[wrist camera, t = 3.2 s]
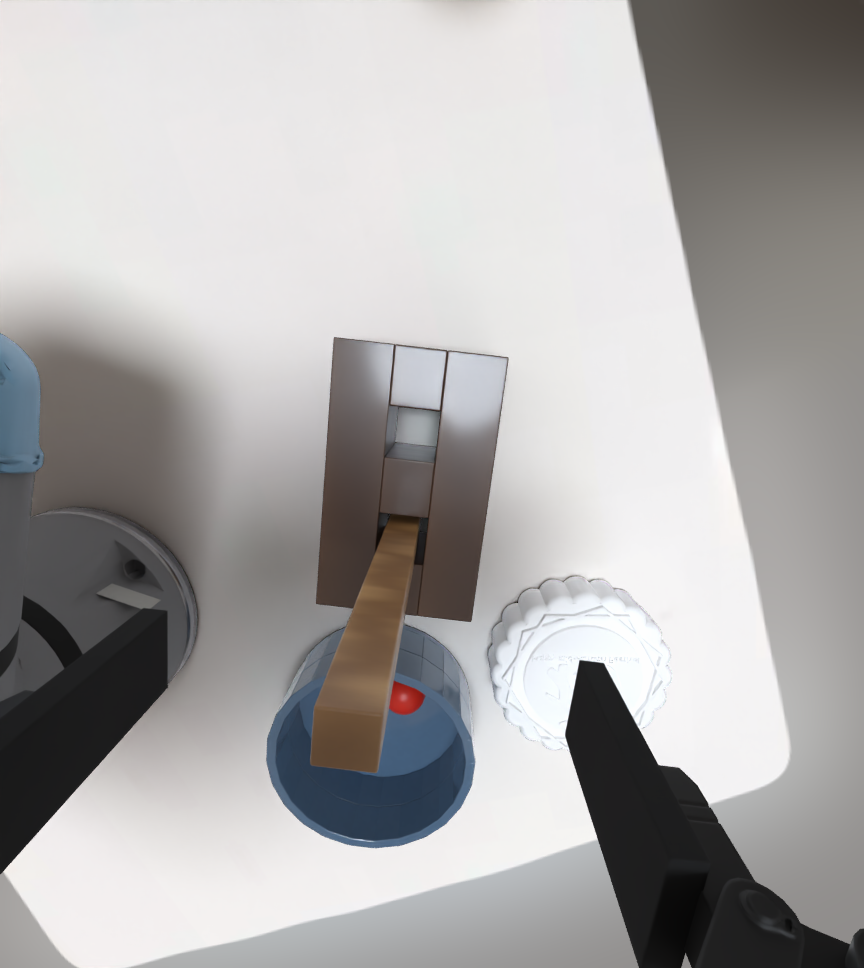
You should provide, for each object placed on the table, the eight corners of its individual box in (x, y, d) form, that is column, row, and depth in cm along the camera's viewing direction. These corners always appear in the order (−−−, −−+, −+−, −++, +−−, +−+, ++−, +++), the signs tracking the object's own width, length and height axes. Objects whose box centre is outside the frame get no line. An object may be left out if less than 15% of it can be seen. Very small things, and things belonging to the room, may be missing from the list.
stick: (394, 522, 35) (309, 767, 13) (397, 496, 34) (313, 706, 13) (420, 524, 35) (377, 774, 13) (423, 499, 34) (383, 715, 13)
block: (337, 566, 35) (315, 604, 30) (354, 343, 32) (333, 337, 26) (467, 581, 35) (471, 622, 29) (497, 360, 32) (508, 357, 26)
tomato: (383, 694, 37) (378, 721, 34) (387, 657, 36) (382, 682, 33) (424, 699, 37) (422, 727, 34) (428, 662, 36) (427, 688, 33)
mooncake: (486, 723, 38) (490, 759, 34) (489, 574, 35) (493, 596, 32) (647, 725, 37) (668, 762, 34) (662, 575, 35) (687, 597, 31)
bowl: (290, 766, 39) (262, 835, 33) (299, 611, 36) (270, 657, 30) (458, 786, 39) (460, 859, 33) (481, 632, 36) (487, 682, 30)
